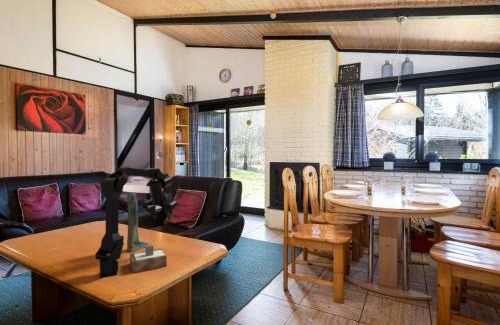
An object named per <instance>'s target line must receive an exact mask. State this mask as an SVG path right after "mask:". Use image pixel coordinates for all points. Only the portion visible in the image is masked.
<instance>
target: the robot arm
mask: <svg viewBox="0 0 500 325" xmlns="http://www.w3.org/2000/svg"><path fill="white" fill-rule="evenodd" d="M129 177H137V178H138V177H139V178H143V179H144V180H147V181H148V182H147V183H146V185H145V186H146V187H149V188H150V189H149V190H150V195H149V197H150V198H151V199H147V200H145V201H144V202H142V204H141V206H142V209H144V210H145V211H147V212H148V213H149V214H150V216H151V217H152V218H153V219H154V220H157V218H158V217H157V212H156V211H157V210H156V207H163V208H164V212H165V215H166V218H167V220H168V221H171V220H172V214H173V210H174V209H175V208H176V207H178V206H179V205H178V201H176V200H172V195H173V194H172V193H166V192H165V191H163V190H164V189H165V188H167V187H170V186H171V185H172V184H173V178H172V177H171V176H170V175H169V173H163V172H162V171H161V169H160V168H158V167H156V168H155V167H154V168H153V167H152V168H151V167H150V168H149V167H148V168H136V167H135V168H134V167H128V166H121V167H119V168H118V169H117V170H116V171H114V172H112V173H111V174H109V175H108V176H107V177H106V178H104V179H103V180H102V181H101V184H100V185H101V192H102V195H103V197H104V198H105V231H104V235H103V237H102V238H101V242H100V247H99V248H98V249H97V251H96V252H95V254H94V257H95V260H96V261H97V260H99V278H104V277H110V276H116V275H118V272H119V260H118V259H121V255H122V251H123V249H124V246H125V244H124V243H125V242H124V240H125V237H124V235H121V234H120V233H119V216H120V215H119V210H120V208H119V207H120V206H119V205H120V203H119V202H120V197H121V196H122V194H123V192H124V186H125V185H126V184H127V183H128V180H129Z"/></svg>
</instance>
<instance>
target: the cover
mask: <svg viewBox="0 0 500 325" xmlns="http://www.w3.org/2000/svg"><path fill="white" fill-rule="evenodd" d="M144 249H145V250H144V251H145V252H144V251H143V252H144V253H138V254H134V257H135V260H141V259H147V258H153V257H158V256H164V255H166V254H165V253H164V252H163V250H157V251H153V250H154V245H153V244H148V245H145V248H144Z"/></svg>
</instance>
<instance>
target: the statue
mask: <svg viewBox="0 0 500 325" xmlns="http://www.w3.org/2000/svg"><path fill="white" fill-rule="evenodd" d="M137 195H138V194H137V192H129V194H127V238H126V239H127V240H126V242H127V243H126V249H125V250H126V252H130V253H134V252H137V251H138V250H143V249H145V245H149V242H147V241H146V242H145V241H141V240H140V239H139V212H138V211H139V205H138V204H139V203H138V202H139V201H138V200H137Z"/></svg>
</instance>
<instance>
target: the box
mask: <svg viewBox="0 0 500 325" xmlns="http://www.w3.org/2000/svg"><path fill="white" fill-rule="evenodd" d="M157 250H162V248H158V249H157V248H156V249H153V251H157ZM162 251H163V250H162ZM144 252H145V250H144V251H138V252H137V251H136V252H130V253H129V264H130V268H132V269H131V272H132V273H133V272H134V273H138V272H143V271H144V272H145V271H149V269H150V270H154V269H159V268H164V267H167V255H166V254H165V255H164V256H158V257H153V258H147V259H141V260H135V257H134V254H138V253H144Z"/></svg>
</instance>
